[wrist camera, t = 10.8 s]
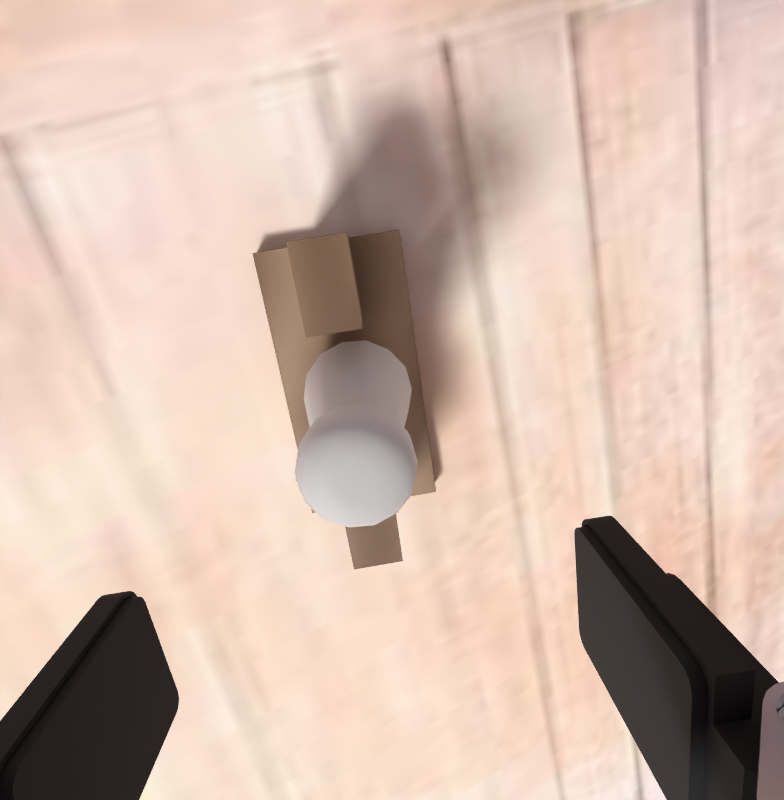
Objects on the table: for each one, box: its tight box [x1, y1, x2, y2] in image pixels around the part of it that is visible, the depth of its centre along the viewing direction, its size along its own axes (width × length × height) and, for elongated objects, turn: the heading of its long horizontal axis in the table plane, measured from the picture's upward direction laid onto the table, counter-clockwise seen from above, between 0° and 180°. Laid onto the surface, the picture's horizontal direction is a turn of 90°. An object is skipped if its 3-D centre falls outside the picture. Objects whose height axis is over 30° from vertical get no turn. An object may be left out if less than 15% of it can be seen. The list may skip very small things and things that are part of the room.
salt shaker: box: [295, 340, 418, 527], centre depth 22 cm, size 6×6×13 cm
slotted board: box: [253, 230, 436, 569], centre depth 26 cm, size 8×16×8 cm, turn 9°
